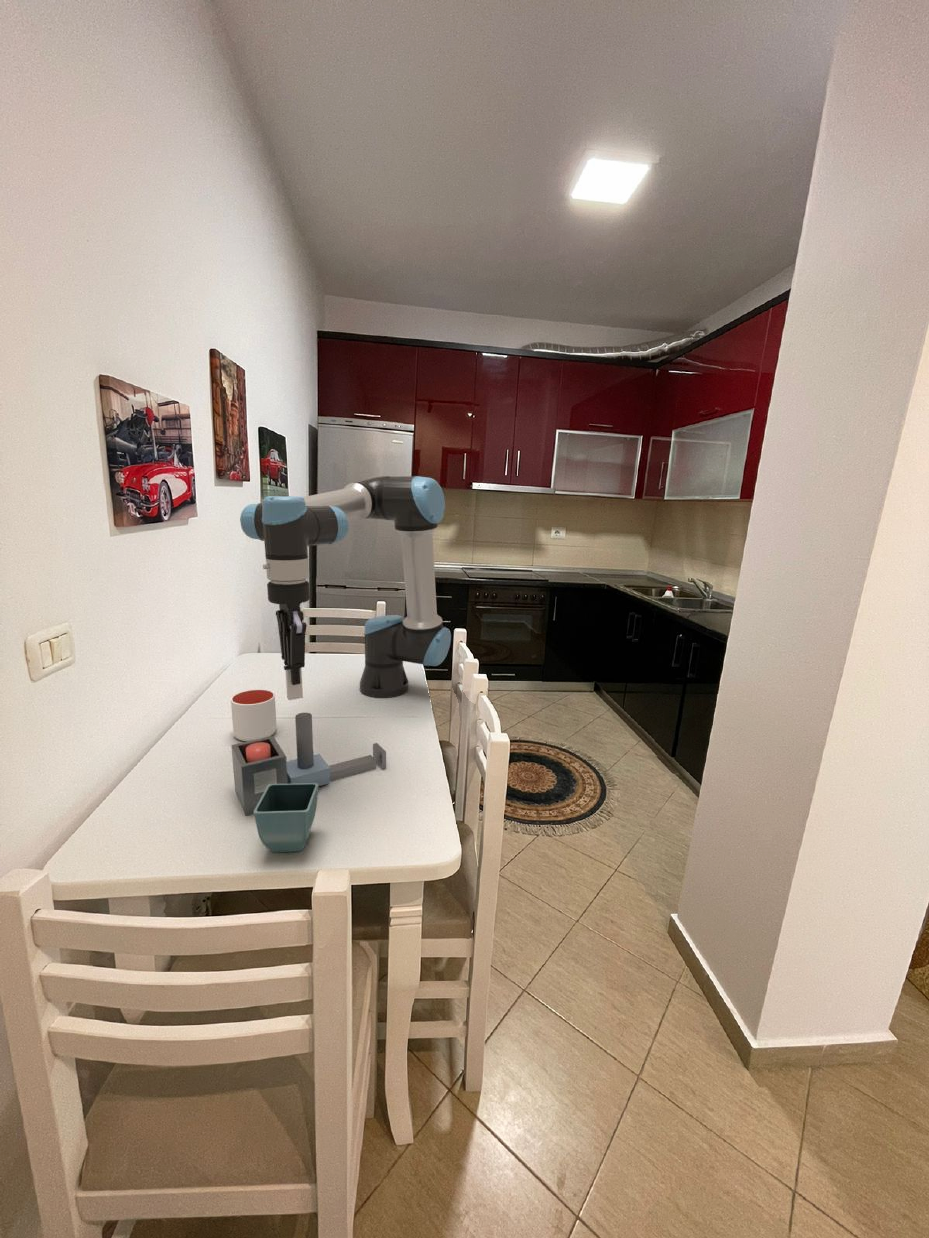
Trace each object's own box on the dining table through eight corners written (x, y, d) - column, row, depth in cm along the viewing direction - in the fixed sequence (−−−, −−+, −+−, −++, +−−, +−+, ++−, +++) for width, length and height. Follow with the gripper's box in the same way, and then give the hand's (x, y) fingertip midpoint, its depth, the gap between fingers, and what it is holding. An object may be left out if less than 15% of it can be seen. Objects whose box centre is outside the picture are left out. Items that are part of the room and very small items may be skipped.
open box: (275, 779, 108) (273, 735, 106) (288, 803, 100) (286, 756, 98) (234, 789, 104) (231, 744, 102) (245, 816, 96) (241, 767, 93)
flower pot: (270, 827, 93) (268, 782, 91) (320, 826, 94) (318, 782, 92) (255, 860, 84) (252, 812, 82) (310, 859, 85) (308, 811, 83)
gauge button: (268, 763, 104) (267, 740, 103) (273, 772, 100) (272, 749, 99) (245, 768, 101) (243, 745, 100) (250, 778, 98) (248, 755, 97)
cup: (262, 745, 123) (259, 706, 120) (224, 740, 125) (221, 702, 122) (284, 728, 132) (282, 691, 130) (249, 723, 134) (247, 687, 132)
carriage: (319, 770, 112) (317, 706, 109) (330, 785, 106) (328, 718, 103) (282, 780, 108) (278, 713, 104) (291, 796, 102) (288, 726, 99)
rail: (377, 758, 118) (376, 742, 117) (386, 768, 114) (386, 751, 113) (278, 784, 106) (277, 767, 105) (285, 796, 102) (284, 778, 101)
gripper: (259, 576, 100) (267, 690, 105) (275, 588, 89) (283, 713, 95) (298, 574, 104) (304, 683, 109) (318, 584, 93) (324, 705, 99)
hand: (295, 697), depth 102 cm, fingers closed
